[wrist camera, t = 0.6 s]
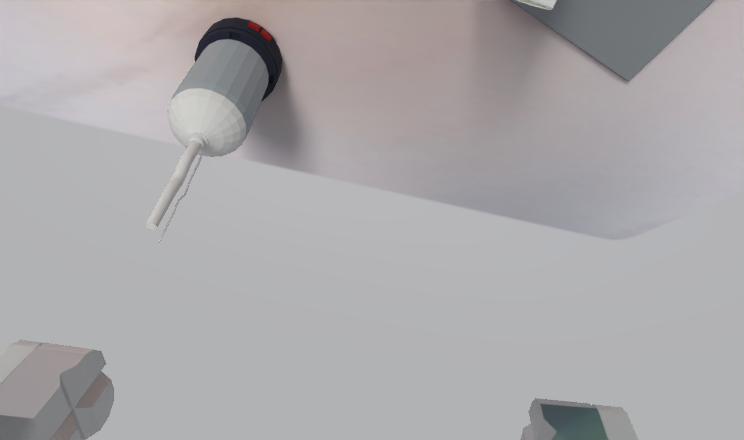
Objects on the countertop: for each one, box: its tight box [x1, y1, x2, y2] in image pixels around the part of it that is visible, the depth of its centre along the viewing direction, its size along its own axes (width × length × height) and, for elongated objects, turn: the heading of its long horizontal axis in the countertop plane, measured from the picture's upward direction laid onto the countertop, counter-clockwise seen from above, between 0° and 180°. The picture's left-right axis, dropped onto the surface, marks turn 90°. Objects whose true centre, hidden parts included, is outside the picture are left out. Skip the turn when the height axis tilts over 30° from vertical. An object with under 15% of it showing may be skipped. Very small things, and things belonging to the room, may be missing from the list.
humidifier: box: [146, 18, 282, 243], centre depth 42 cm, size 8×8×25 cm
